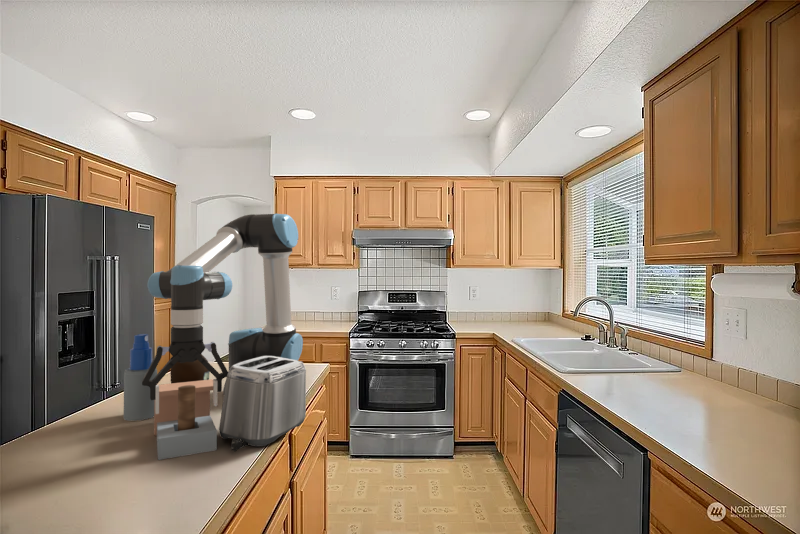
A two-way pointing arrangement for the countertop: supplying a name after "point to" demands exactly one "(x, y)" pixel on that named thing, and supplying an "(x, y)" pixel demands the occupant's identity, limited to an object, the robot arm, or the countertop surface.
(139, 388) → the spray bottle
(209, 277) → the robot arm
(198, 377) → the olive oil
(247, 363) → the toaster
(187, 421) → the peg
